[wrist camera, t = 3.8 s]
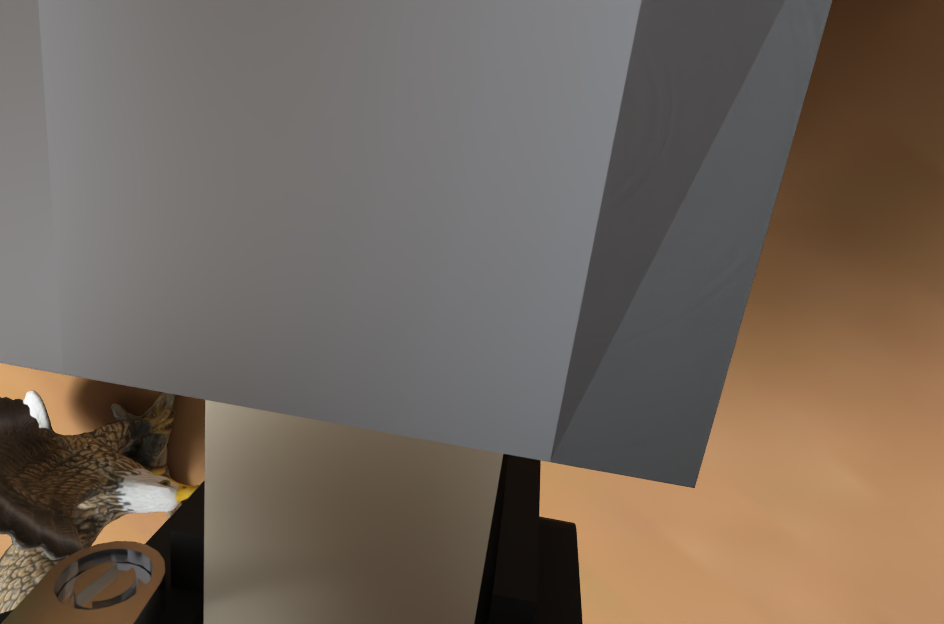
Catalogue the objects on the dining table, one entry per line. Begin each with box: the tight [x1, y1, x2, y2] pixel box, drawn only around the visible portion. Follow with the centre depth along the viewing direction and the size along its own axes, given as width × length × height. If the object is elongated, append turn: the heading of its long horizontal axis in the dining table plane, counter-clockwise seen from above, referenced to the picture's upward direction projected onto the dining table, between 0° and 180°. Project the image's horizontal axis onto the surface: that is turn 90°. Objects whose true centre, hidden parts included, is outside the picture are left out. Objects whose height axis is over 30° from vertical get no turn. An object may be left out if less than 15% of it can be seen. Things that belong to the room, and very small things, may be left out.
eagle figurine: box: [0, 390, 200, 613], centre depth 17 cm, size 8×7×9 cm
